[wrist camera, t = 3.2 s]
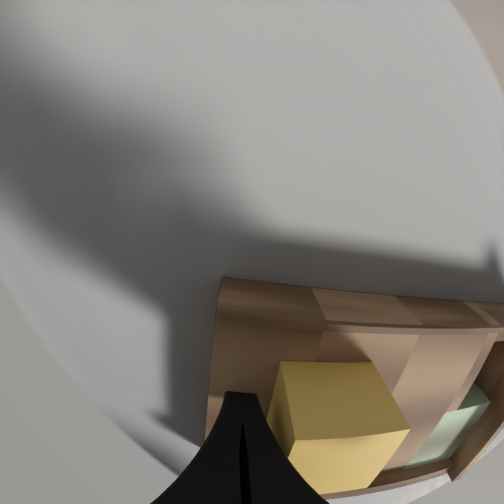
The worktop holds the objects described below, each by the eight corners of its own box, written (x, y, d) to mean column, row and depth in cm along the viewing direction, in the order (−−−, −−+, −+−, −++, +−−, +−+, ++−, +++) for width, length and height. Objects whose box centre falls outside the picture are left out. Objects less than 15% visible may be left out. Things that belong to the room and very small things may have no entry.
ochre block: (345, 424, 13) (367, 487, 9) (264, 425, 12) (271, 496, 8) (372, 362, 11) (410, 429, 8) (280, 360, 11) (295, 440, 7)
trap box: (436, 438, 18) (458, 479, 14) (205, 450, 17) (199, 510, 12) (510, 304, 15) (555, 338, 10) (222, 276, 13) (210, 340, 9)
